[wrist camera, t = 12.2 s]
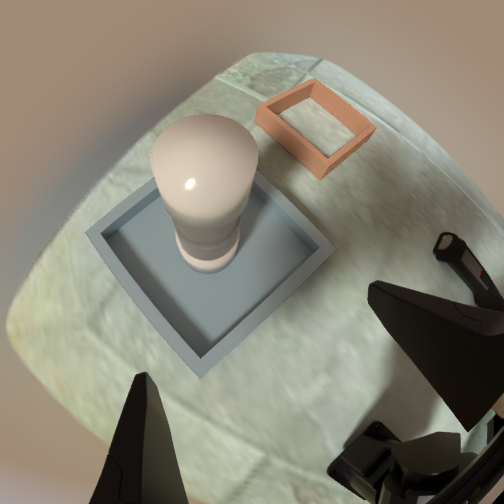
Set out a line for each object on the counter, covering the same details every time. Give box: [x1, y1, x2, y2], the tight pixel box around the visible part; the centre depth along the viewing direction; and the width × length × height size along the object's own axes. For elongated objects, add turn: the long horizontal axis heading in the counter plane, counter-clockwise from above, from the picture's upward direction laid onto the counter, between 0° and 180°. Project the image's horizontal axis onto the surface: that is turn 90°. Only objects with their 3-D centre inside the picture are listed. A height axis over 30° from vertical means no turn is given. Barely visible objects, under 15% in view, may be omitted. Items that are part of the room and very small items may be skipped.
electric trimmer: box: [433, 232, 504, 312], centre depth 25 cm, size 4×16×3 cm, turn 48°
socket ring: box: [254, 78, 377, 180], centre depth 28 cm, size 9×9×2 cm
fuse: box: [151, 114, 258, 274], centre depth 17 cm, size 4×4×12 cm
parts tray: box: [85, 169, 336, 378], centre depth 22 cm, size 14×14×2 cm
